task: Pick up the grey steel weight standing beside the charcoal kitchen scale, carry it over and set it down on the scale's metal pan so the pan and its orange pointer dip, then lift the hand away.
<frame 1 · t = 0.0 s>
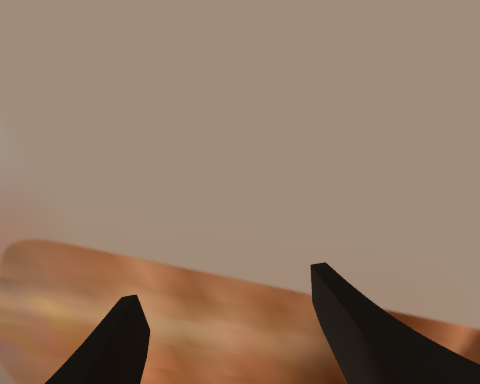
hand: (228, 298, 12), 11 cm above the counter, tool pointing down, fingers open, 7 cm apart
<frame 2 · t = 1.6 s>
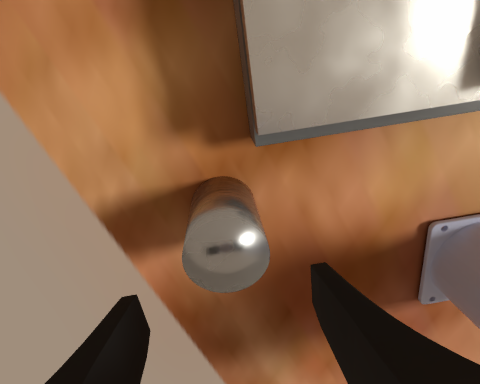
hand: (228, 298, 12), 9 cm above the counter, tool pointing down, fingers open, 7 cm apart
steel weight: (223, 206, 20), on the counter
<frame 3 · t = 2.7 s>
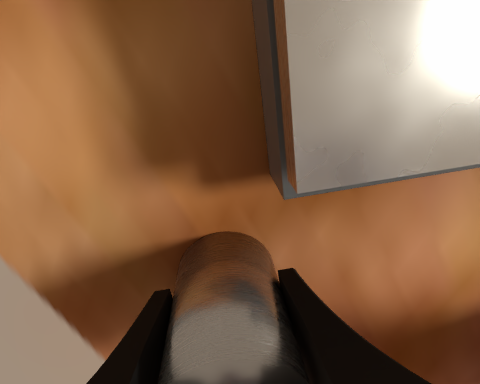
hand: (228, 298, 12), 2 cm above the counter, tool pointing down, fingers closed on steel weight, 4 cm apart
steel weight: (226, 272, 13), on the counter, touching gripper
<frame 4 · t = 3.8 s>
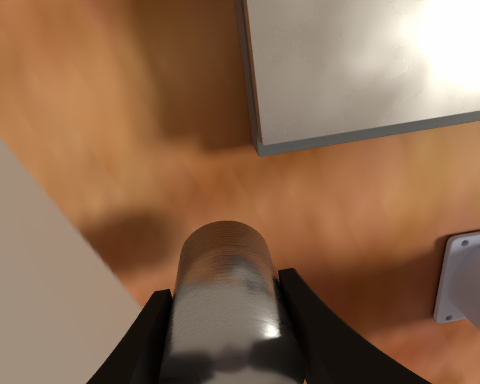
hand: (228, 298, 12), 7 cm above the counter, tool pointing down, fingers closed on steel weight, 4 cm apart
steel weight: (225, 259, 14), point 4 cm above the counter, touching gripper
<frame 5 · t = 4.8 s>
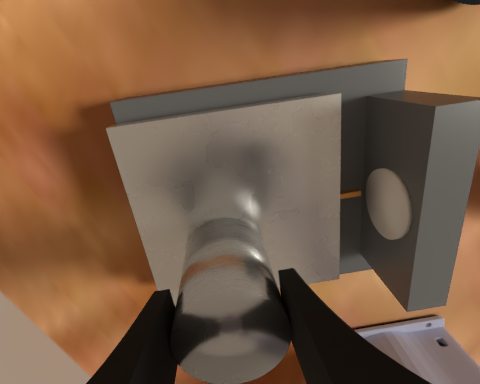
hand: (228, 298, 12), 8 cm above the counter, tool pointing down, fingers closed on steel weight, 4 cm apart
scale: (264, 182, 19), on the counter
scale pan: (251, 208, 16), point 3 cm above the counter, slide at 0.8 cm
steel weight: (225, 253, 16), point 4 cm above the counter, touching gripper
when the fingers open (7 cm above the counter, at t = 5.8 s): steel weight stays where it is, resting on scale pan.
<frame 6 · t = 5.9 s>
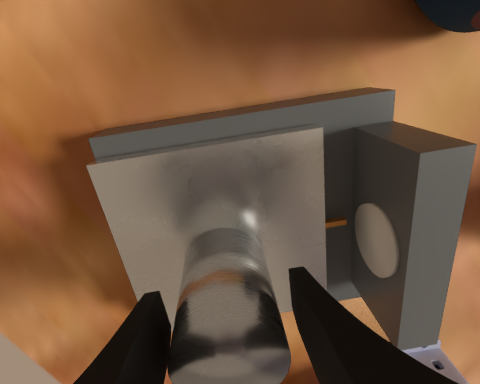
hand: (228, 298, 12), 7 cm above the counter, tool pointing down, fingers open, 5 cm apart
scale: (253, 209, 18), on the counter
scale pan: (236, 238, 16), point 3 cm above the counter, slide at 1.2 cm, touching steel weight
steel weight: (225, 262, 16), point 4 cm above the counter, touching scale pan
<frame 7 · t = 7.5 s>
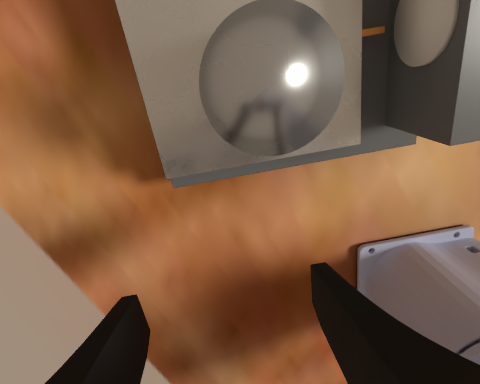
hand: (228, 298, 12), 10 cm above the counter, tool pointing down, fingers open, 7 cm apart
scale: (275, 50, 17), on the counter
scale pan: (261, 51, 14), point 3 cm above the counter, slide at 1.2 cm, touching steel weight
steel weight: (249, 77, 14), point 4 cm above the counter, touching scale pan
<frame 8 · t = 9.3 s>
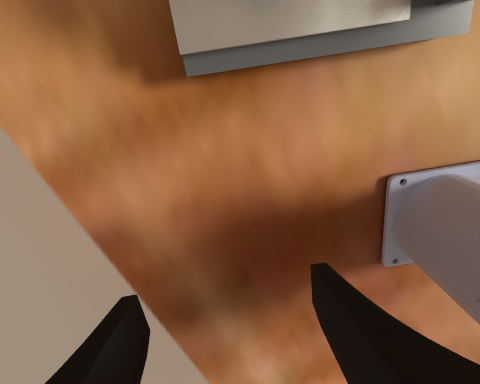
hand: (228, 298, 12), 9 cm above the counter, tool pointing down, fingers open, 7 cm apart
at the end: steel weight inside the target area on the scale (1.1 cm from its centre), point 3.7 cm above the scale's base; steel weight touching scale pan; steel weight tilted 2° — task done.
